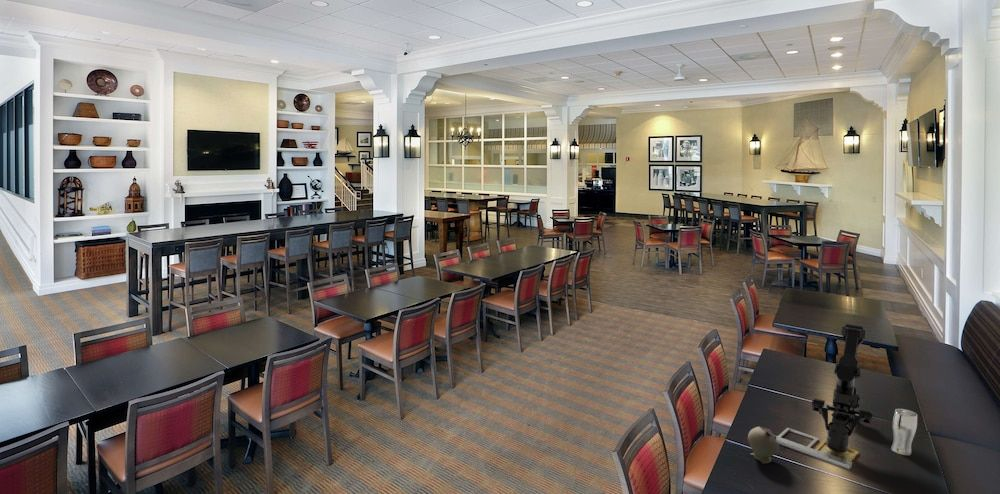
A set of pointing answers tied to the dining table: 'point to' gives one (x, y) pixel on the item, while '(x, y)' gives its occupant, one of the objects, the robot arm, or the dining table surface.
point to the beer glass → (903, 431)
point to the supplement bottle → (838, 434)
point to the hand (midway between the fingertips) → (838, 432)
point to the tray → (824, 453)
